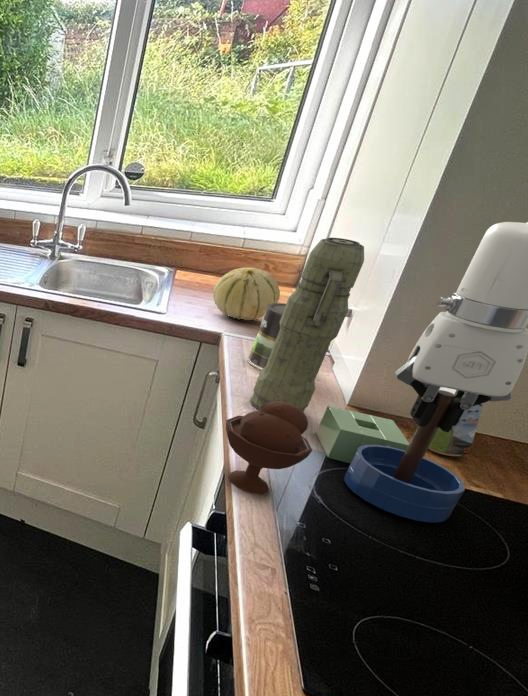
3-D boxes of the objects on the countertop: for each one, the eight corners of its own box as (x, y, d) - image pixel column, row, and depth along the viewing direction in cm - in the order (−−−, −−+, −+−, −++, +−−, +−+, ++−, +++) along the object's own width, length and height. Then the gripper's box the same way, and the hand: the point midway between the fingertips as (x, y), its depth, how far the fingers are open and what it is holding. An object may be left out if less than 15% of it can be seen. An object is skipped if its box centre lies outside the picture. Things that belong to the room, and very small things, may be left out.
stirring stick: (406, 479, 92) (452, 392, 86) (410, 486, 91) (458, 397, 84) (389, 475, 93) (434, 388, 87) (393, 482, 91) (439, 394, 85)
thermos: (295, 400, 121) (363, 237, 108) (310, 428, 111) (387, 252, 98) (244, 389, 125) (304, 230, 111) (254, 415, 115) (321, 244, 101)
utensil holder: (379, 448, 106) (393, 420, 103) (396, 475, 98) (411, 445, 96) (315, 432, 110) (327, 405, 107) (327, 457, 102) (340, 429, 100)
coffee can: (242, 365, 135) (263, 309, 130) (252, 353, 142) (271, 299, 137) (297, 382, 129) (321, 323, 123) (304, 368, 136) (327, 312, 130)
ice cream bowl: (216, 454, 102) (244, 379, 96) (295, 485, 95) (330, 406, 89) (200, 480, 95) (229, 401, 89) (284, 516, 88) (321, 432, 82)
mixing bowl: (429, 490, 95) (445, 459, 93) (460, 537, 85) (480, 504, 83) (334, 465, 100) (348, 436, 98) (353, 507, 90) (369, 475, 88)
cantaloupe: (266, 316, 166) (285, 266, 161) (271, 332, 155) (292, 279, 149) (206, 304, 173) (221, 256, 168) (206, 319, 162) (223, 268, 156)
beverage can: (464, 465, 101) (498, 406, 97) (407, 446, 107) (436, 389, 102) (466, 452, 105) (499, 395, 101) (411, 434, 110) (439, 378, 106)
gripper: (421, 308, 81) (368, 420, 88) (587, 334, 74) (515, 454, 81) (403, 293, 87) (355, 399, 94) (555, 316, 80) (491, 428, 87)
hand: (430, 423), depth 88 cm, fingers closed on stirring stick, 2 cm apart
